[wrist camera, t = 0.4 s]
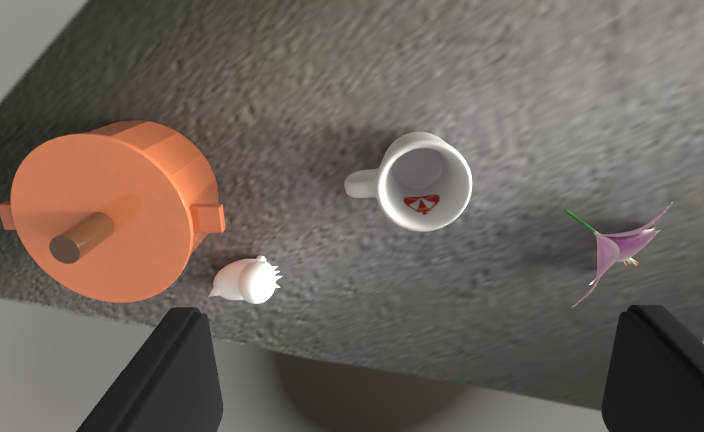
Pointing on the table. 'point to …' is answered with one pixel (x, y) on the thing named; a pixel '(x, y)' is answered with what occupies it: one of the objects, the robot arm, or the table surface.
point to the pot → (178, 162)
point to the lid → (102, 217)
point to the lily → (618, 246)
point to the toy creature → (246, 280)
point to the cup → (416, 182)
